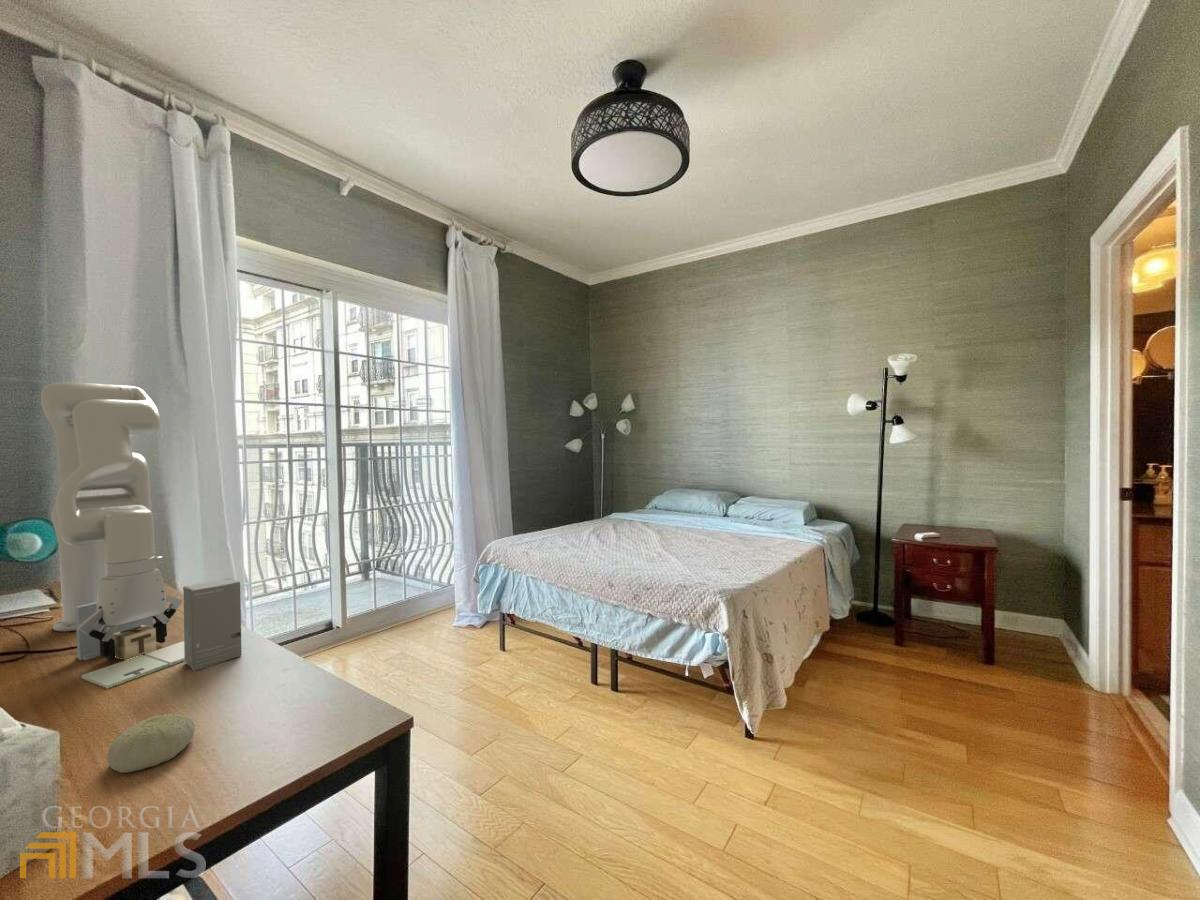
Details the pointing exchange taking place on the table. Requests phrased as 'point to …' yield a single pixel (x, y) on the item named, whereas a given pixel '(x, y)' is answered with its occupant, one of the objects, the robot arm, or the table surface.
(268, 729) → the table surface
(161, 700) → the table surface
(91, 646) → the screen
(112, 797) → the table surface
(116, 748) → the sea urchin shell
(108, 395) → the robot arm
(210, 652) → the skincare box
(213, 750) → the table surface
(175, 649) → the pad
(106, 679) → the pad
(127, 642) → the letter cube
